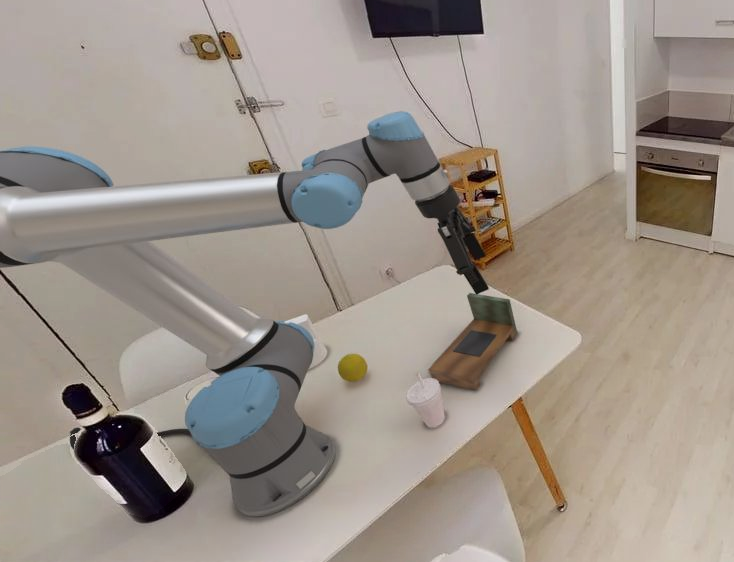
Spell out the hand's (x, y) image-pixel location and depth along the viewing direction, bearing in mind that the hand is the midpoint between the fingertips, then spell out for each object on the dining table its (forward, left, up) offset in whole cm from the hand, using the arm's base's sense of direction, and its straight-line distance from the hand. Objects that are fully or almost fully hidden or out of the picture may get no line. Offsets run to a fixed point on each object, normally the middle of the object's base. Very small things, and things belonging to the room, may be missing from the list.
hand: (481, 273), depth 91 cm
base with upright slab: (-50, -13, -26) cm, 58 cm away
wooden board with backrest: (-7, -2, -26) cm, 27 cm away
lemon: (-31, -15, -26) cm, 43 cm away
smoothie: (-5, -20, -26) cm, 33 cm away
